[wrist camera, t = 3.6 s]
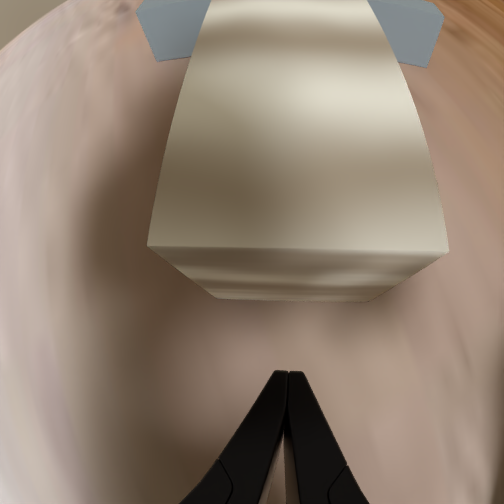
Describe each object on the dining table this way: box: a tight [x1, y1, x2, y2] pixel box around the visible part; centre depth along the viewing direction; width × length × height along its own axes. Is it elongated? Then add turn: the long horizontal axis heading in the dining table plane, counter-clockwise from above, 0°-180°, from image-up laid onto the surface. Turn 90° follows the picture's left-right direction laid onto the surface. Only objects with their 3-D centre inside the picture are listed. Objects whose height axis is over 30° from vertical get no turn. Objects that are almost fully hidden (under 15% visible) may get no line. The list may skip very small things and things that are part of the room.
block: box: [147, 0, 449, 302], centre depth 14 cm, size 16×8×9 cm, turn 177°
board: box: [136, 0, 444, 68], centre depth 19 cm, size 2×24×6 cm, turn 86°
